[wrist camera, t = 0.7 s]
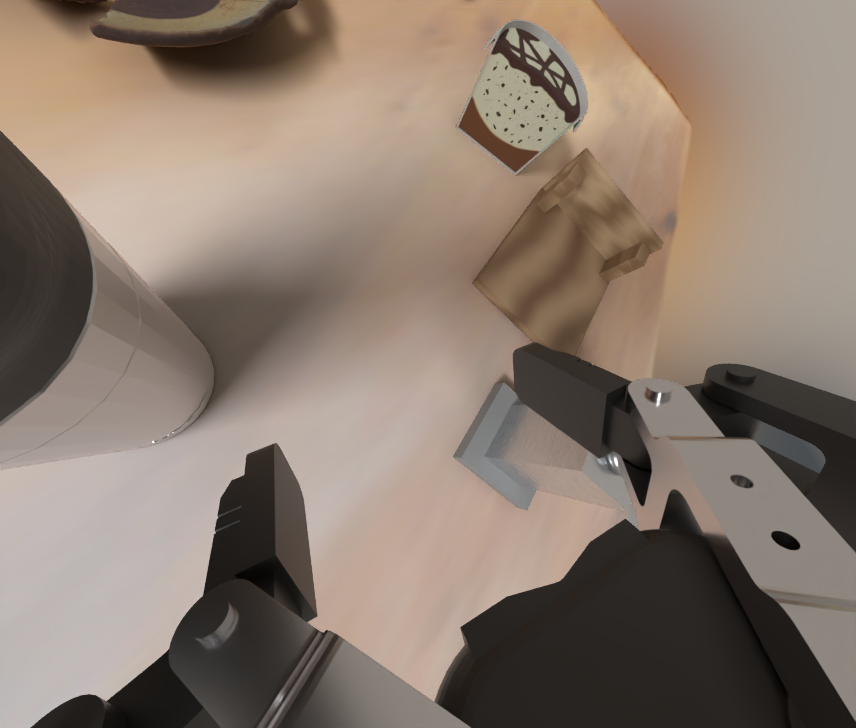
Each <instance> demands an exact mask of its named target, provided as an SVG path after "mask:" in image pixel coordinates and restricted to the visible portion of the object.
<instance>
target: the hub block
mask: <svg viewBox="0 0 856 728" xmlns="http://www.w3.org/2000/svg"><path fill="white" fill-rule="evenodd" d="M484 457H485V458H487V459H488V460H489V461H490V462H491V463H493V464H494V465H495V466H496V467H498V468H499V469H500V470H501V471H502V472H504V473H505V474H506V475H507V476H509V477H510V478H511V479H512V480H514V481H515V482H516V483H517V484H518V485H520V486H524V487H528V488H532V489H536V490H540V491H544V492H548V493H552V494H556V495H560V496H564V497H568V498H572V499H576V500H580V501H584V502H588V503H592V504H596V505H600V506H604V507H608V508H612V509H616V510H620V511H624V512H628V511H629V508H630V505H631V500H630V497H629V494H628V491H627V489H626V486H625V483H624V480H623V477H622V475H621V472H620V469H619V466H618V463H617V458H618V454H617V453H616V452H614V451H613V452H611V453H609V454H607V455H606V456H604V457H602V458H600V459H599V458H597V457H596V456H595V455H593V454H592V453H591V452H589V451H588V450H586V449H585V448H584V447H582V446H581V445H580V444H578V443H577V442H576V441H574V440H573V439H571V438H570V437H569V436H567V435H566V434H565V433H563V432H562V431H560V430H559V429H558V428H556V427H555V426H554V425H552V424H551V423H550V422H548V421H547V420H545V419H544V418H543V417H541V416H540V415H539V414H537V413H536V412H534V411H533V410H532V409H530V408H529V407H528V406H526V405H525V404H524V405H513V406H511V407H510V409H509V411H508V413H507V414H506V416H505V418H504V420H503V422H502V424H501V426H500V427H499V429H498V431H497V433H496V435H495V437H494V439H493V441H492V442H491V444H490V446H489V448H488V450H487V452H486V454H485V455H484Z"/></svg>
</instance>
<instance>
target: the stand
mask: <svg viewBox="0 0 856 728" xmlns="http://www.w3.org/2000/svg"><path fill="white" fill-rule="evenodd" d="M513 405H524V403H522V402H521V401H520V399H519V398H518V396H517V394H516V392H515V391H513V390H512V389H511V388H510V387H509V386H508V385H507V384H506V383H505V382H502V383H497V384H495V385H494V387H493V389H492V390H491V392H490V394H489V396H488V397H487V399H486V401H485V403H484V404H483V406H482V408H481V410H480V411H479V413H478V415H477V416H476V418H475V420H474V422H473V423H472V425H471V427H470V429H469V430H468V432H467V434H466V435H465V437H464V439H463V441H462V442H461V444H460V446H459V448H458V449H457V451H456V453H455V455H454V456H453V457H454V458H456V459H457V460H458V461H459V462H461V463H462V464H463V465H464V466H466V467H467V468H468V469H469V470H471V471H472V472H473V473H474V474H476V475H477V476H478V477H480V478H481V479H482V480H483V481H485V482H486V483H487V484H488V485H490V486H491V487H492V488H493V489H495V490H496V491H497V492H499V493H500V494H501V495H502V496H504V497H505V498H506V499H507V500H509V501H510V502H511V503H512V504H514V505H515V506H516V507H518V508H521V509H524V510H528V508H529V505H530V503H531V501H532V498H533V496H534V494H535V492H536V489H532V488H528V487H524V486H520V485H518V484H517V483H516V482H515V481H514V480H512V479H511V478H510V477H509V476H507V475H506V474H505V473H504V472H502V471H501V470H500V469H499V468H498V467H496V466H495V465H494V464H493V463H491V462H490V461H489V460H488V459H487V458H485V457H484V455H485V454H486V452H487V450H488V448H489V446H490V444H491V442H492V441H493V439H494V437H495V435H496V433H497V431H498V429H499V427H500V426H501V424H502V422H503V420H504V418H505V416H506V414H507V413H508V411H509V409H510V407H511V406H513Z"/></svg>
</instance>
